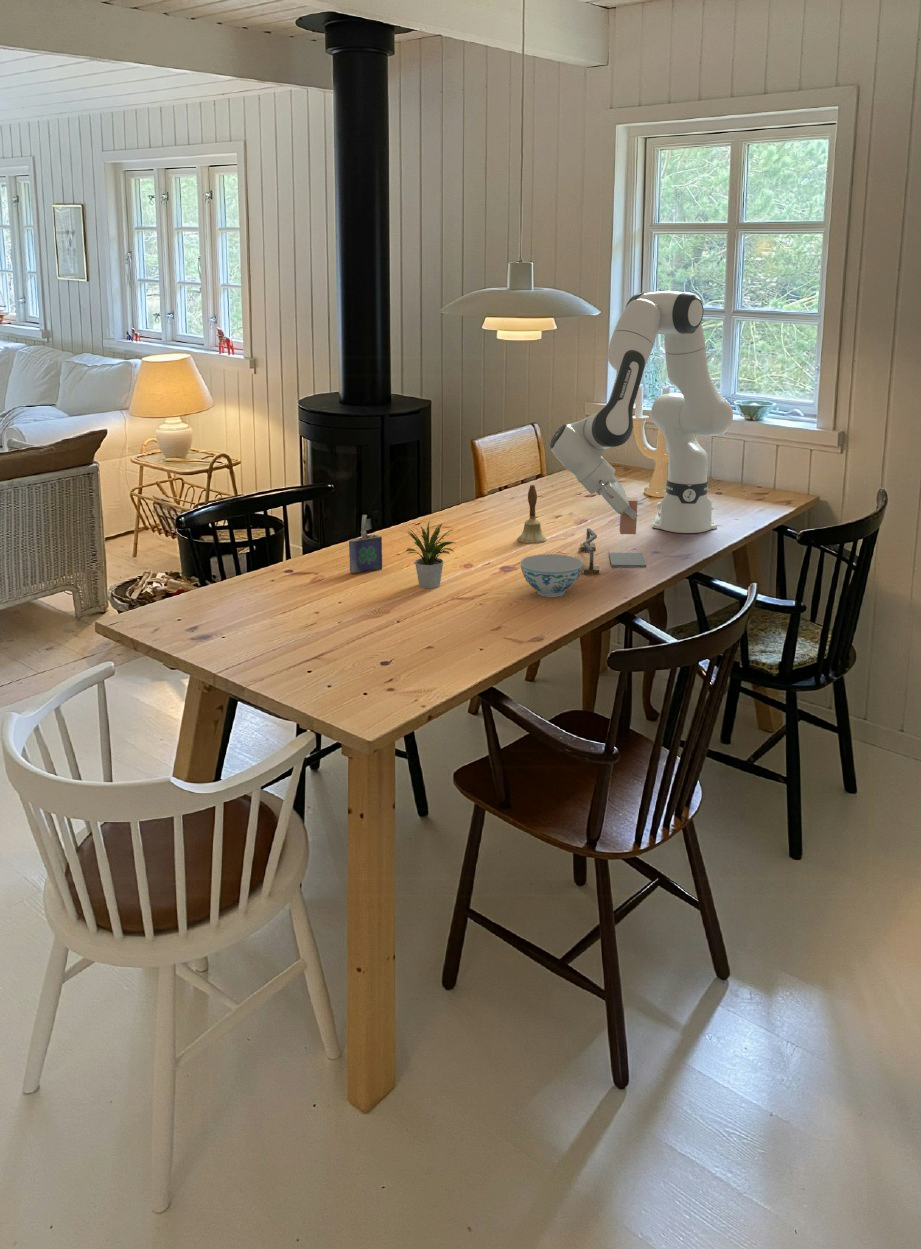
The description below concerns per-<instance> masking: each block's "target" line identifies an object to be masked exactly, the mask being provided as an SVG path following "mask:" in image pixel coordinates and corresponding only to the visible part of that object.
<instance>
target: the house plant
mask: <svg viewBox="0 0 921 1249" xmlns="http://www.w3.org/2000/svg"><path fill="white" fill-rule="evenodd" d="M442 526H443V523H440V524H438V525H437V526H436V528H435V529H434V531H433V533H432V534H431V537H430V520H429V521H428V522H427V526H426V530H425V528H423V527H422V526H420V528H421V532H420V531H418V533H419V535H420V537H421V539H422V540H420V538H419V537H418V535H417V534H416V533H415V532H414V530H412V529H410V528H408V530H407V531H403V530H401V532H403V533H407V534H408V535H409V536H410V537H411V538H412V539H413V540H414V542H413V543H414V544H415V545H416V546H417V547H418V548H419V549H420V551H421V553H419V552H418V551H417V550H416V549H414V548H411V547H409V548H406V550H405V553H406V552H408V553H407V554H406V555H408V554H417V555H419V556H420V557H419V558H417V559H416V560H414V563H415V564H414V565H415V570H416V575H417V579H418V581H417V582H418V585H419V587H420V588H422V587H423V588H424V589H435V587H436V588H439V587H440V586H441V580H442V574H443V573H442V572H443V567H444V560H443V558H439V556H441V554H448V555H451V554H450V551H451V552H453V553H455V551H454V549H453V548H450V547H446V546H449V545H452V544H456V542H455V541H444V539H445V537H446V536H447V537H449V536H450V535H447V534H449V533H450V532H451V531H453V530H456V529H450V530H448V531H447V532H445V533H444V534H443V535H440V531H441V527H442ZM412 528H413V529H416V530H417V528H416V527H414V526H412ZM439 535H440V536H439ZM441 540H443V541H441ZM422 542H423V544H422ZM444 547H445V548H444Z"/></svg>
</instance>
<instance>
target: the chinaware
mask: <svg viewBox="0 0 921 1249" xmlns="http://www.w3.org/2000/svg"><path fill="white" fill-rule="evenodd" d="M519 564H520V570H521V572H522V575H523V577H524V579H525V581H526V582H527V583H528V584H529V586H530V587H532V588H533V589H534V590H536V594H538V595H539V596H541V597H546V598H556V597H562V596H564V595H565V594H566V591H567V590H569V589H570V588H571V587H572V586H573V585H574V584H575V583H576V582H577V580H578V579H579V577H580V575H581V572H582V571H583V560H581V559H579V557H574V556H571V555H566V554H559V553H558V554H555V553H554V554H553V553H549V554H548V553H546V554H545V553H543V554H535V555H530V556H527V557H524V558H523V559H521V560H520V562H519Z"/></svg>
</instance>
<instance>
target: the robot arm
mask: <svg viewBox="0 0 921 1249" xmlns="http://www.w3.org/2000/svg"><path fill="white" fill-rule="evenodd" d="M703 317H704V305H703V302H702V300H701V298H700V297H699V296H698V295H697V294H696V293H692V292H689V291H683V292H681V291H676V290H675V291H672V290H663V291H653V292H645V291H644V292H640V293H636V294H634V295H632V296H631V297H630V298H629V300H628V301H627V303H626V304H625V308H624V310H623V312H622V313H621V315H620V317H619V318H618V321H617V322H616V326H615V327H614V331H613V332H612V335H611V338H610V341H609V344H608V349H607V361H608V362H609V364H610V366H611V367H612V368H613V369H614V370H616V376H615V380H614V384H613V386H612V389H611V392H610V396H609V399H608V401H607V402H606V404H605V406H604V407H603V408H602V409H600V410H599V411H597V412H595V413H592V414H591V415H588V416H587V417H585V418H583V419H580V420H579V421H576V422H575V421H574V422H572V423H565V424H563V425H561V426H560V427H559V428H558V430H557V431H555V433H554V435H553V436H552V438H551V440H550V443H549V448H550V450H551V452H552V454H553V455H554V456H555V458H556V460H558V461H559V462H560V464H561V465H562V466H563V467H564V468H565V469H566V470H567V471H568V472H570V473H572V474H573V475H574V476H575V479H576V480H577V481H578V483H580V484H581V485H582V486H583V488H584V489H585V490H586V491H587V492H588V493H589V494H590V495H593V494H595V493H596V494H597V495H598V496H602V497H603V499H604V500H605V501H606V502H607V504H608V505H610V507H611V508H612V509H613V510H614V511H615V512H616V513H618V514H619V515H620V514H622V513H623V512H625V513H626V514H627V515H629V516H630V517H631V518H632V519H635V518H636V517H637V518H638V517H639V516H638V512H637V513H636V512H635V511H634V510H633V509H632V508H631V507H630V505H629V502H628V499H627V497H628V496H627V494H626V490H625V488H624V487H623V486H622V483H620V481H619V479H617V477H616V476H615V473H616V469H615V468H614V467H613V466H612V465H611V463H609V462H608V461H607V460H606V458H604V457H603V455H602V454H603V452H604V451H605V450H608V449H611V448H615V447H619V446H622V445H624V444H626V442H627V441H628V440H629V439H630V437H631V435H632V433H633V428H634V420H633V414H634V413H633V411H634V407H635V406H634V405H635V402H636V399H637V396H638V393H639V388H640V385H641V382H642V379H643V375H644V371H645V368H646V365H647V363H648V360H649V359H650V355H651V352H652V350H653V347H654V345H655V341H656V339H657V335H664V338H663V339H664V340H663V341H664V355H665V364H666V373H667V377H668V379H669V381H670V382H671V383H672V384H673V385H674V386H675V387H676V388H678V390H679V392H670V393H664V394H660V395H659V396H657V397H656V399H655V400H654V401H653V404H652V406H651V410H650V411H651V412H650V415H651V419H652V422H653V424H654V425H655V426H656V427H657V428H658V430H660V432H661V434H662V435H663V437H664V441H665V444H666V447H667V452H668V475H667V476H668V478H667V480H666V484H665V496H663V498H662V499H661V501H658V502H657V503H656V504H657V507H656V508H657V510H658V511H659V512H658V513H656V516H655V519H654V521H653V523H652V528H654V529H659V530H664V531H667V532H671V533H679V534H697V533H704V532H707V531H709V530H714V529H717V528H718V524H716V523H715V522H714V521H713V520H712V518H713V517H712V515H713V513H712V512H713V511H712V510H713V501H712V500H711V498H709V497H708V493H709V492H708V491H709V481H708V467H709V466H708V465H709V464H708V463H709V455H708V453H707V451H706V450H705V449H704V448H703V447H702V446H701V445H700V444H699V441H698V440H697V438H696V437H697V435H698V436H702V437H703V436H704V437H713V436H720V435H721V436H722V435H724V434H726V432H728V430H729V429H730V428H731V426H732V423H733V419H734V418H733V417H734V411H733V409H732V406H731V404H730V402H728V401H727V400H726V399H724V398H723V396H721V394H720V393H719V391H718V390H717V388H716V386H715V385H714V383H713V380H712V378H711V376H710V372H709V367H708V360H707V351H706V350H707V349H706V341H705V340H706V339H705V335H704V334H705V333H704V329H703V325H702V322H703Z"/></svg>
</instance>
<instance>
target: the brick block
mask: <svg viewBox="0 0 921 1249" xmlns="http://www.w3.org/2000/svg"><path fill="white" fill-rule="evenodd" d="M627 499H628V502H629V505H630V507H631V508H632V509H633V510H634V511H635V512H636V513H637V514H638V502H639V501H638V498H637V497H633V496H632V497H629V496H627ZM637 519H638V516H637V517H636V518H635V519H632V518H631V517H630V516H629V515H627V514H626V513H625V512H623V513H622V514H619V533H620V535H637V522H638V521H637Z"/></svg>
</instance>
